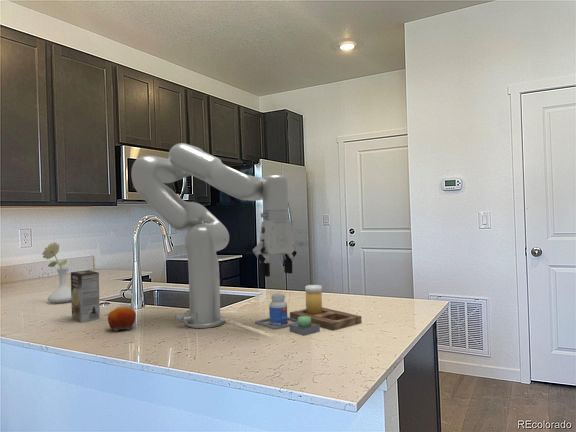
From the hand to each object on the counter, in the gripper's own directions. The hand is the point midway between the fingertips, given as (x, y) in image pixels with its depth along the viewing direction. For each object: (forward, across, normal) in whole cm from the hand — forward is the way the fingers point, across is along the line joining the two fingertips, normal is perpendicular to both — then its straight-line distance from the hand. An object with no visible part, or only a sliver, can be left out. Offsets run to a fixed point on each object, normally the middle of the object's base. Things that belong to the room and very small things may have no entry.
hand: (277, 274), depth 129 cm
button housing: (+16, 0, -12) cm, 20 cm away
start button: (+13, 0, -12) cm, 18 cm away
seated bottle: (+15, +12, -3) cm, 19 cm away
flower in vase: (+16, -41, +95) cm, 105 cm away
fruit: (+16, -36, +32) cm, 51 cm away
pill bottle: (+16, 0, 0) cm, 16 cm away
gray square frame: (+16, 0, 0) cm, 16 cm away
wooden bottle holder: (+16, +12, -8) cm, 21 cm away
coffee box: (+16, -41, +55) cm, 70 cm away
